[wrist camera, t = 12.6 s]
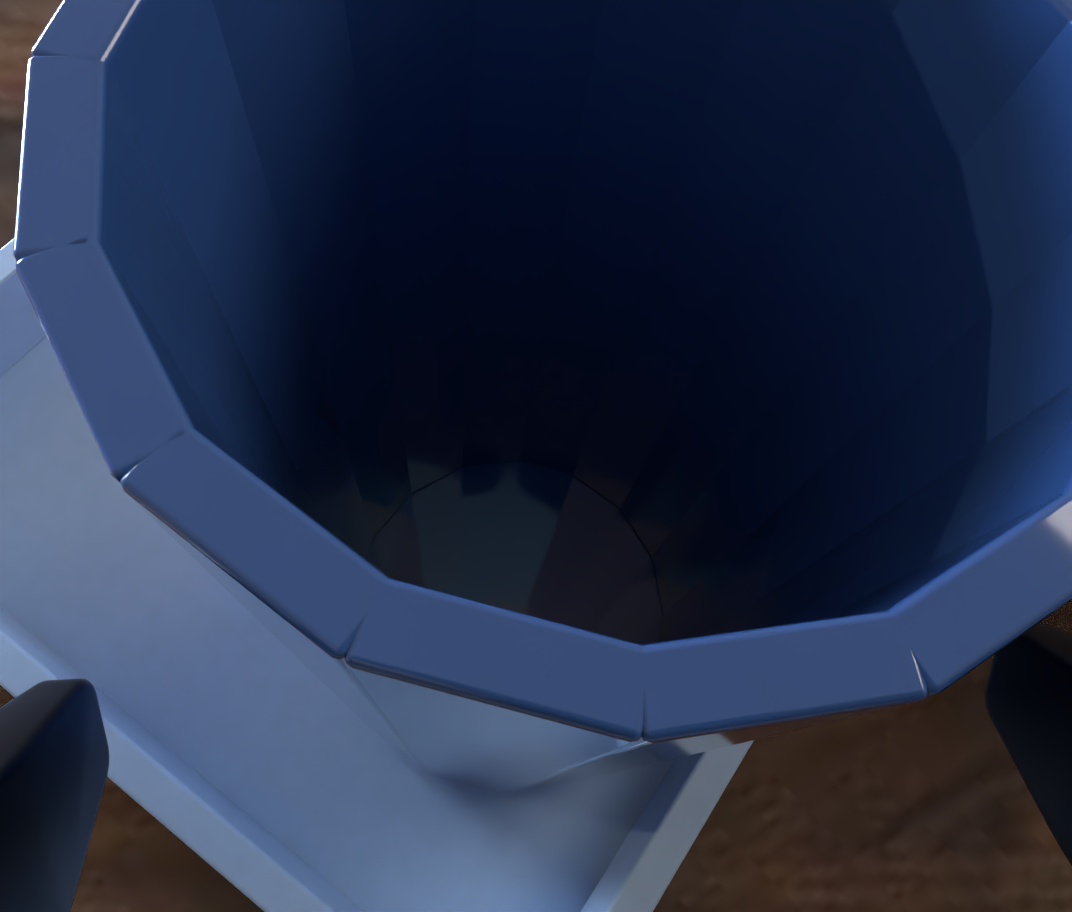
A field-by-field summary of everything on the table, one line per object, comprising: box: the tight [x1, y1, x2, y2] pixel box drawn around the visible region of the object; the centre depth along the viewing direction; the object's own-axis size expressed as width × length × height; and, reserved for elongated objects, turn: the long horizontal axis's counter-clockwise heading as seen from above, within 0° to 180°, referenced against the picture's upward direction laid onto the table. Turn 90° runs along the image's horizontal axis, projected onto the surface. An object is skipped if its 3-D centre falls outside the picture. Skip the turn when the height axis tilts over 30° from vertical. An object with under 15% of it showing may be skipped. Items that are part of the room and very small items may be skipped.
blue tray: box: [0, 239, 754, 912], centre depth 17 cm, size 16×16×3 cm
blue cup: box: [13, 0, 1072, 794], centre depth 11 cm, size 6×6×13 cm
